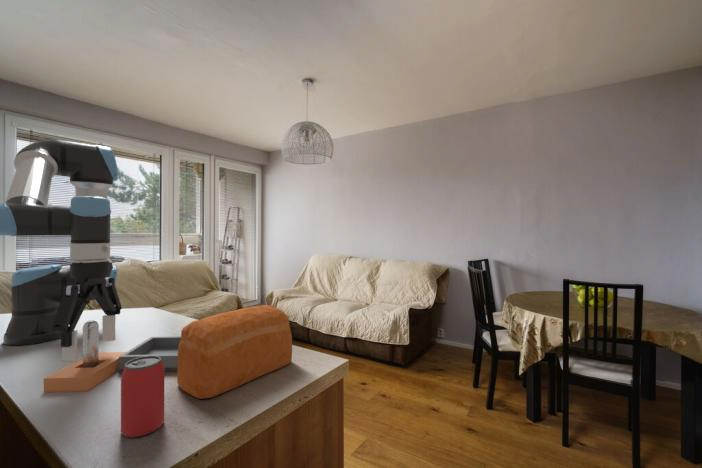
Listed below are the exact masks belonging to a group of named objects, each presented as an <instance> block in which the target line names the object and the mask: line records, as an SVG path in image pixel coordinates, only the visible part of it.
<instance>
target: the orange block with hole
mask: <svg viewBox="0 0 702 468" xmlns="http://www.w3.org/2000/svg"><path fill="white" fill-rule="evenodd" d="M126 352H127V351H110V352H109V351H107V352H106V351H105V352H104V351H103V352H101V351H99V365H97V366H96V367H93V368H83V357H82V358H80V359H79V360H78V359H77V360H75V361H73V363H71V364H69V365H67V366H65V367H63V368H62V369H61V368H60V369H59V370H58V371H55V372H54V373H51V374H50V375H48V376H46V377H44V378H43V393H64V392H66V393H67V392H89V391H90V390H91V389H93V388H95V387H96V386H97V385H98V384H100V383H102V382H104V381H105V380H106V379H108V378H109V377H111V376H112V375H114V374H115V373H117V372H119V356H121V355H123V354H124V353H126Z"/></svg>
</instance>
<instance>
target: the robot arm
mask: <svg viewBox="0 0 702 468" xmlns="http://www.w3.org/2000/svg"><path fill="white" fill-rule="evenodd" d="M13 166H14V168H15V172H14V176H13V179H12V181H11V185H10V186H9V189H8V190H9V191H8V193H7V196H6V199H5V202H1V203H0V236H10V237H19V236H21V237H22V236H23V237H27V236H29V237H30V236H34V237H35V236H38V237H39V236H53V237H55V236H58V237H59V236H62V237H63V236H70V244H69V247H70V249H69V250H70V251H69V260H71V262H70V263H69V267H67V268H63V266H62V265H61V264H59V263H57V264H48V265H47V264H46V265H40V266H33V267H27V268H22V269H19V270H16V271H14V272H13V274H12V275H11V284H10V287H11V316H10V317H11V318H10V321H9V322H8V324H7V325H8V326H7V327H6V331H5V333H4V334H3V345H6V346H25V345H27V346H28V345H34V344H39V343H44V342H49V341H53V340H57V339H60V346H61V361H62V362H71V361H72V362H76V361H78V330H75V328H76V326H77V324H78V323H79V320H80V319H81V316H82V314H83V312H84V310H85V309H86V306H87V305H89V304H90V302H91V301H96V303H97V304H98V305H99V307H100V308H101V310H102V312H103V313H104V314H105V315H102V319H101V320H102V322H101V323H102V324H101V325H102V328H101V330H102V333H101V335H102V340H101V341H102V342H111V341H112V342H114V341H116V315H120V314H121V310H122V308H123V307H122V304H121V300H120V298H119V295H118V291H117V287H116V283H117V277H118V276H117V275H118V273H117V272H118V266H117V265H114V264H113V260H111V259H110V258H111V214H112V208H111V202H110V199H108V190H109V189H110V188H112V187H113V186H114V185H113V184H114V182H116V181H118V179H119V175H118V167H117V160H116V155H115V152H114V150H113V149H112V148H111V147H108V146H103V145H98V144H91V143H85V142H83V143H82V142H77V141H76V142H75V141H68V140H62V139H44V140H39V141H36V142H33V143H30V144H28V145H25V147H22V148H21V150H19V151H18V152H17V153H16V155H15V157H14V160H13ZM55 176H60V177H68V178H69V183H70V184H71V185H72V186H74V187H75V196H73V197H72V198H71V199H70V205H69V206H68V205H52V204H51V205H49V204H48V203H49V197H50V191H51V186H52V180H53V177H55Z"/></svg>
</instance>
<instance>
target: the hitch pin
mask: <svg viewBox="0 0 702 468" xmlns="http://www.w3.org/2000/svg"><path fill="white" fill-rule="evenodd" d="M99 328H100V325H99V322H98V321H96V320H88V321H86V322H84V324H83V326H82V358H83V368H93V367H96V366H97V365H99V352H100V351H99V350H100V349H99V348H100V346H99V345H100V344H99V342H100V341H99V338H100V336H99V335H100V331H99V330H100V329H99Z"/></svg>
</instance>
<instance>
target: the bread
mask: <svg viewBox="0 0 702 468" xmlns="http://www.w3.org/2000/svg"><path fill="white" fill-rule="evenodd" d="M292 335H293V334H292V331H291V327H290V319H289V316H288V315H287V314H286V313H285V312H284V311H283V310H282V309H280V308H277V307H276V306H274V305H270V304H269V305H267V304H262V305H257V306H252V307H244V308H240V309H234V310H230V311H225V312H221V313H217V314H214V315H209V316H206V317H204V318H201V319H197V320H193V321H191V322H189V323H188V324H186V325H184V327H182V329H181V333H180V336H181V342H180V343H179V348H178V365H177V371H176V374H177V375H176V376H177V381H176V382H177V385H178V387H179V388H180V389H181V390H182V391H183V392H186V393H187V394H189V395H190V396H193V397H195V398H197V399H201V400H202V399H211V398H213V397H216V396H218V395H221V394H224V393H226V392H228V391H230V390H233V389H235V388H238V387H240V386H242V385H245V384H247V383H249V382H251V381H253V380H256V379H258V378H260V377H263V376H266V375H267V374H269V373H272V372H274V371H277V370H278V369H281V368H283V367H285V366H287V365H289V364H290V363H291V362H292V359H293V358H292V357H293V336H292Z"/></svg>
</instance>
